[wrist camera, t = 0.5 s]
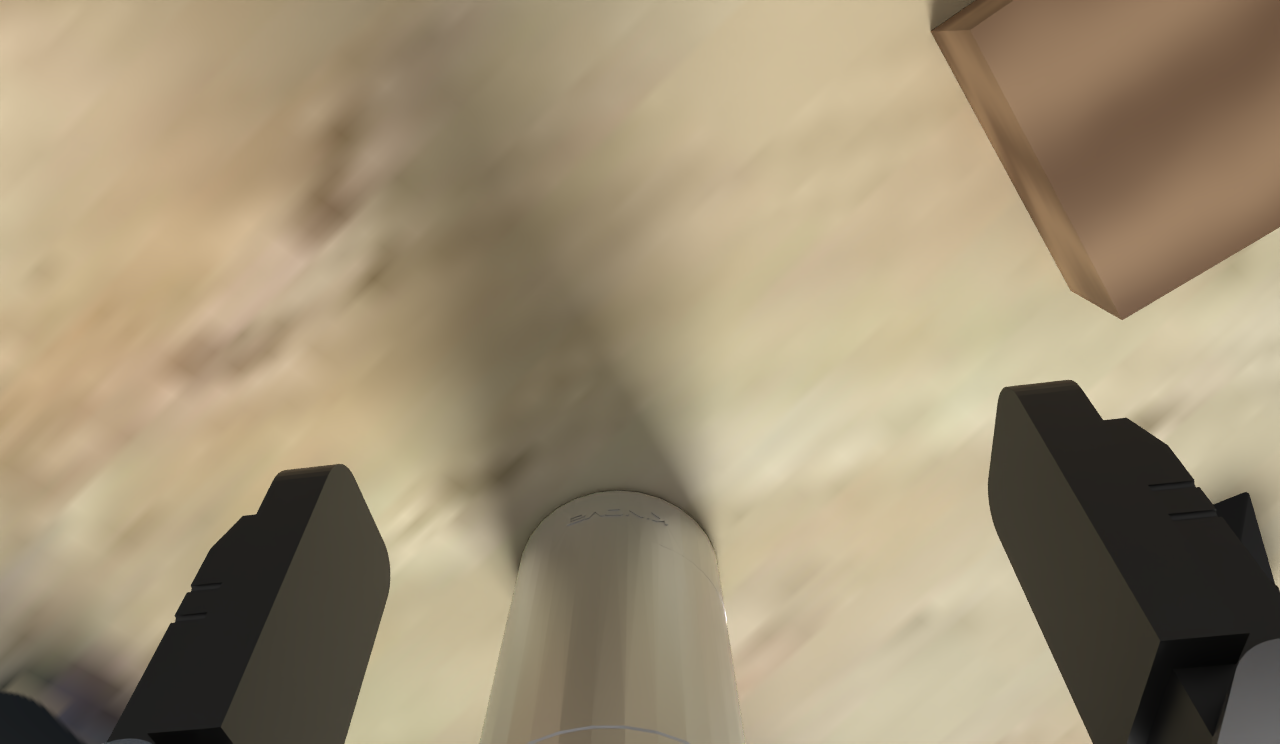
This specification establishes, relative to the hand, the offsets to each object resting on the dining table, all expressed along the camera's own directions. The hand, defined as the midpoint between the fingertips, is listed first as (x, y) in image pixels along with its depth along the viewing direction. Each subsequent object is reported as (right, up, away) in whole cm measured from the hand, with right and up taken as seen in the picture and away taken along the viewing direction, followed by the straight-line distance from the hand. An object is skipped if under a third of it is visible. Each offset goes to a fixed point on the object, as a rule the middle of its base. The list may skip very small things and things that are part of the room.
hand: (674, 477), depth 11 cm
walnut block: (+19, +12, +21) cm, 31 cm away
